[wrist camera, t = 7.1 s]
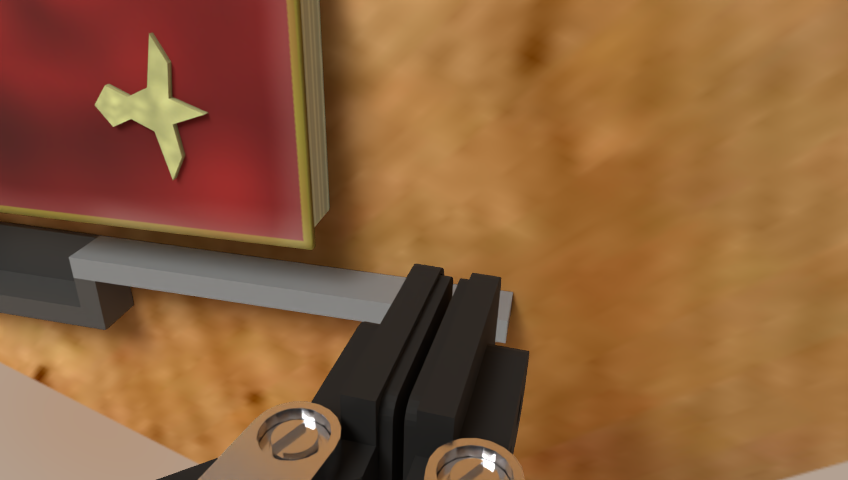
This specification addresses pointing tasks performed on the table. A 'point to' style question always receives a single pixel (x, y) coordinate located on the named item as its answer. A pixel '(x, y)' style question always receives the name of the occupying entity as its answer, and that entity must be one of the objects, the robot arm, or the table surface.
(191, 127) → the hardcover book
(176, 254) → the grey u-shaped frame
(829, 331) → the table surface
